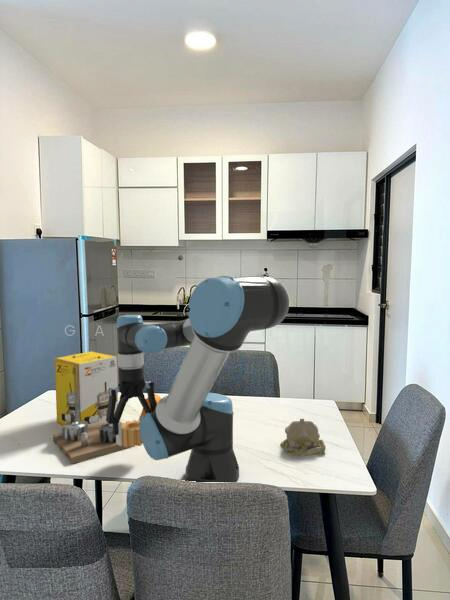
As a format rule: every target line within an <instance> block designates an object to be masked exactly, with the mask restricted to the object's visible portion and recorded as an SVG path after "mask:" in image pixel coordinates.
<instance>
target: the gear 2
mask: <svg viewBox="0 0 450 600" xmlns="http://www.w3.org/2000/svg"><path fill="white" fill-rule="evenodd" d="M119 422H120V423H121V424H122V423H123V422H122V421H119ZM99 436H100V441H101V442H103V443H107V442H109V444H111V443H113V442H116V435H115V434H114V433H113V424H110V423H106V424H103V425H101V427H99Z"/></svg>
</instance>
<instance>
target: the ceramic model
mask: <svg viewBox="0 0 450 600" xmlns="http://www.w3.org/2000/svg"><path fill="white" fill-rule="evenodd" d="M284 434H286V438H285V439H284V440H283V441H281V442H280V443H279V445H280V446H281V447H282V448H283V451H284V453H286V454H287V455H288V454H289V455H291V456H296V457H311V456H320V455H323V454H325V453H326V452H325V451H326V444H325V441H324V440H323V439H320V437H321V436H320V433H319V428H318V426H317V424H315V423H314V422H313V421H311V420H305V418H299V421H298V420H294V421H291V423H290V424H288V426H286V427H285V428H284Z"/></svg>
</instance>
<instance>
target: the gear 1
mask: <svg viewBox="0 0 450 600" xmlns="http://www.w3.org/2000/svg"><path fill="white" fill-rule="evenodd" d="M84 432H87V433H88V435H89V432H88V422H87V421H86V422H85V420H82V421H80V420H76V421H75V414H74V413H73V414H71V421H70V422H69V423H68V422H66V423H64V425H62V424H61V433H62V439H63V440H65V441H69V440H71V441H75V440H78V441H79V440H81V433H84Z"/></svg>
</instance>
